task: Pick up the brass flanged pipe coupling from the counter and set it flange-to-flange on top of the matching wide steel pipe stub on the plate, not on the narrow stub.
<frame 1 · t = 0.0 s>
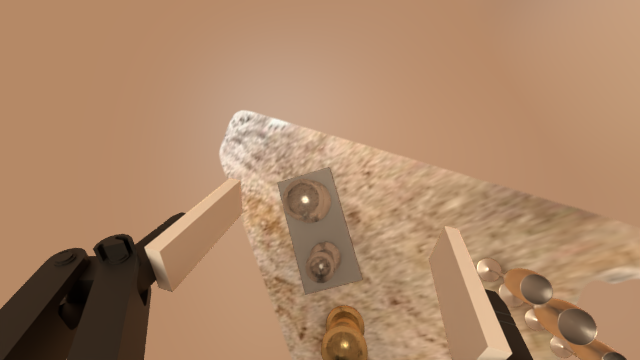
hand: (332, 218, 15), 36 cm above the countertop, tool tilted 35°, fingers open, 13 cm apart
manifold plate: (318, 228, 51), on the countertop
goblet set: (536, 320, 44), on the countertop
narrow pipe stub: (325, 257, 48), resting on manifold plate
wide pipe stub: (310, 201, 50), resting on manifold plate
brass coupling: (345, 325, 47), on the countertop
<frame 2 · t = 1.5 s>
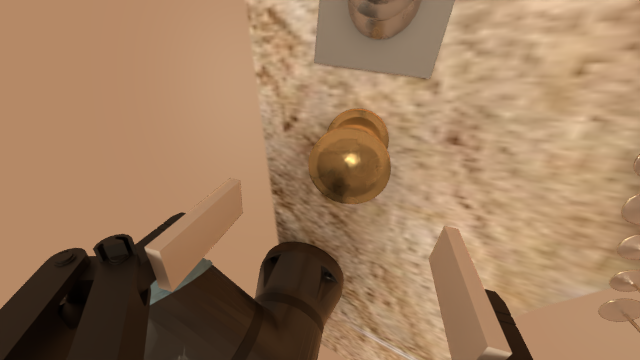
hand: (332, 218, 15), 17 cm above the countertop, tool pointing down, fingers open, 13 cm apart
goblet set: (636, 246, 28), on the countertop
brass coupling: (357, 139, 29), on the countertop
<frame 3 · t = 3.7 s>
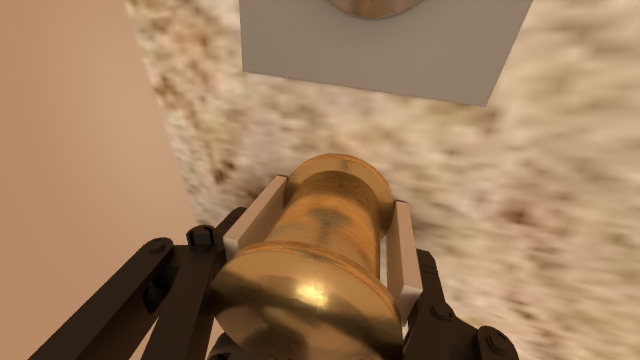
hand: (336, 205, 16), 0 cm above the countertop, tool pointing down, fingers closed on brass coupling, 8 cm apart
brass coupling: (337, 203, 17), on the countertop, touching gripper
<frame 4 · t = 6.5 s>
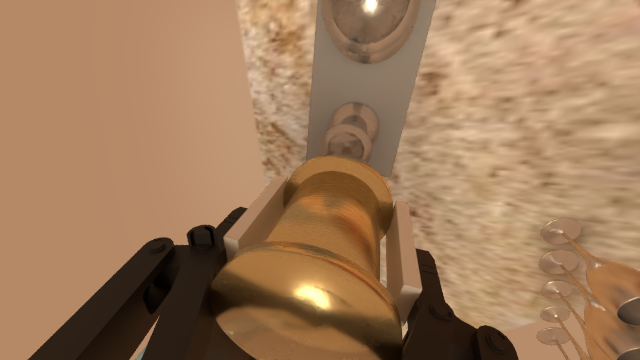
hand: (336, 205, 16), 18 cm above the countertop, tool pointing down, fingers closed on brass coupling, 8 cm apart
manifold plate: (362, 76, 29), on the countertop
goblet set: (555, 289, 37), on the countertop
narrow pipe stub: (353, 127, 30), resting on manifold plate
wide pipe stub: (371, 16, 25), resting on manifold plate
brass coupling: (337, 204, 17), point 18 cm above the countertop, touching gripper
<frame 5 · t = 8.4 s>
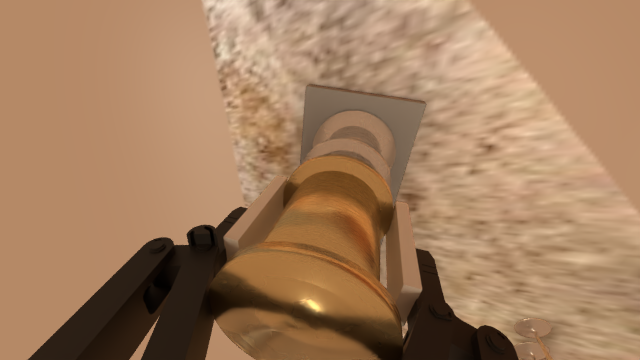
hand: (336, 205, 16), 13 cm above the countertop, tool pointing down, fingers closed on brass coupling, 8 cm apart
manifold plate: (346, 189, 30), on the countertop
wide pipe stub: (353, 150, 26), resting on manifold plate
brass coupling: (337, 204, 17), point 12 cm above the countertop, touching gripper
when the fingers open (11 cm above the countertop, at t = 9.6 s): brass coupling drops 1 cm, resting on wide pipe stub.
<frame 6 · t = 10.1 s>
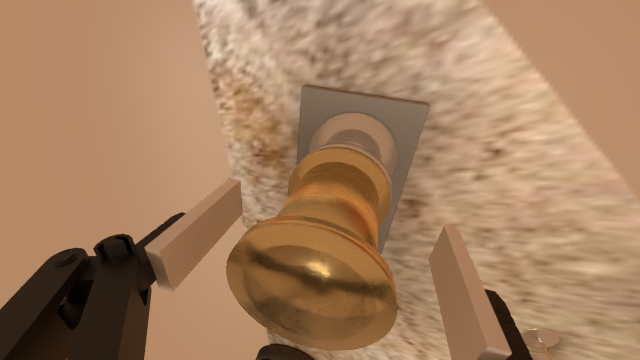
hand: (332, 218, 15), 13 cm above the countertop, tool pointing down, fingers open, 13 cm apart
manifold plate: (345, 194, 29), on the countertop
wide pipe stub: (352, 154, 25), resting on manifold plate
brass coupling: (338, 193, 18), point 10 cm above the countertop, touching wide pipe stub
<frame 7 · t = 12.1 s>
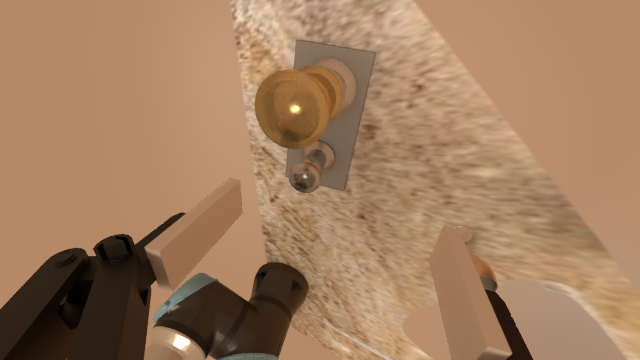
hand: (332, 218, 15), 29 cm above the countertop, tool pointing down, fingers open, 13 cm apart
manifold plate: (324, 123, 42), on the countertop
goblet set: (461, 275, 51), on the countertop
narrow pipe stub: (318, 156, 44), resting on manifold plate
wide pipe stub: (328, 89, 38), resting on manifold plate
brass coupling: (314, 97, 31), point 10 cm above the countertop, touching wide pipe stub
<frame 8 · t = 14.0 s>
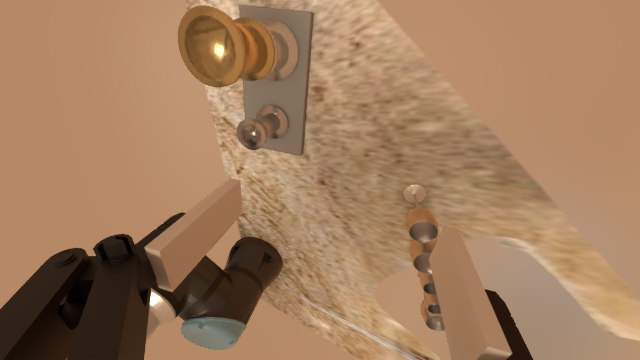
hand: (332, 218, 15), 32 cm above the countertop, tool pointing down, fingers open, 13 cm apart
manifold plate: (276, 88, 44), on the countertop
goblet set: (421, 237, 52), on the countertop
narrow pipe stub: (273, 121, 46), resting on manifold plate
wide pipe stub: (273, 51, 40), resting on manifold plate
brass coupling: (249, 51, 33), point 10 cm above the countertop, touching wide pipe stub
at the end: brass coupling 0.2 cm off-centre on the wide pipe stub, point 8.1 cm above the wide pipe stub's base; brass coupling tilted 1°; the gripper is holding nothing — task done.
